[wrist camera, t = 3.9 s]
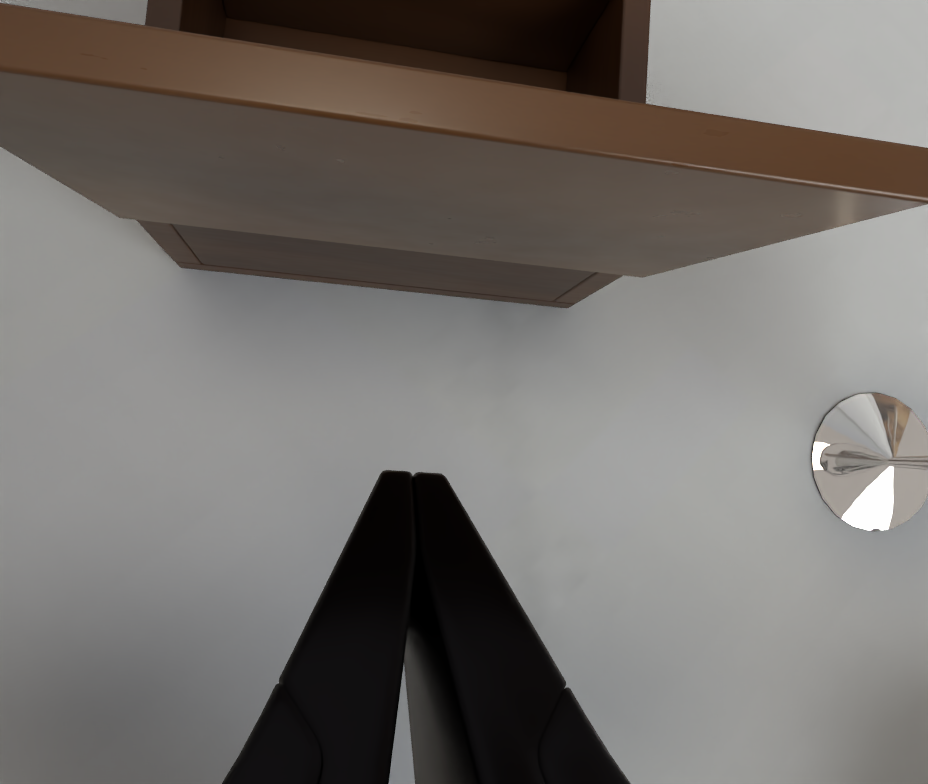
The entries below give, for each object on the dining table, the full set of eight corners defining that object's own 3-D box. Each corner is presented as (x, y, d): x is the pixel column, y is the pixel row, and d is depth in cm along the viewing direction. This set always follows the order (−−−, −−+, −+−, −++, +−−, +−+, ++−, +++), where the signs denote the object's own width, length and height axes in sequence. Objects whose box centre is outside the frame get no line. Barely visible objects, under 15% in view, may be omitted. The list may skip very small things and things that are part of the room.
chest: (206, 4, 23) (162, -140, 17) (582, 66, 25) (654, -45, 19) (179, 267, 22) (124, 208, 17) (568, 308, 24) (638, 268, 19)
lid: (-171, -28, 7) (-176, 44, 7) (943, 148, 9) (936, 203, 9) (120, 186, 16) (118, 218, 16) (646, 250, 18) (643, 278, 18)
